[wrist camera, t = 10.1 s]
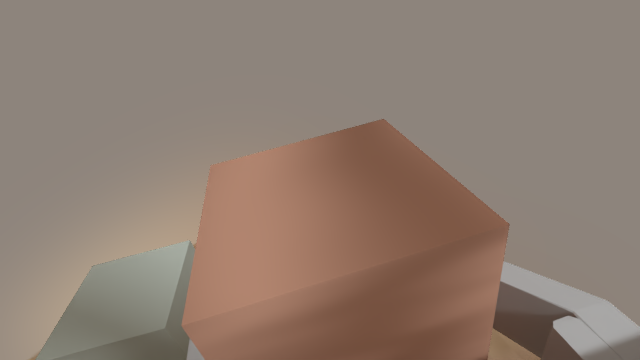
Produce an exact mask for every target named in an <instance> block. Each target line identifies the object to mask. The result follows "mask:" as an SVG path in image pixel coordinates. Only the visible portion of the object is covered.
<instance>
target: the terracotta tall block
mask: <svg viewBox="0 0 640 360" xmlns="http://www.w3.org/2000/svg"><path fill="white" fill-rule="evenodd" d="M508 230H509V223H507V222H506V221H505V220H504V219H503V218H501V217H500V216H499V215H498V214H496V213H495V212H494V211H493V210H492V209H490V208H489V207H488V206H487V205H486V204H485V203H483V202H482V201H481V200H480V199H479V198H477V197H476V196H475V195H474V194H473V193H471V192H470V191H469V190H468V189H467V188H466V187H464V186H463V185H462V184H461V183H459V182H458V181H457V180H456V179H455V178H453V177H452V176H451V175H450V174H449V173H448V172H446V171H445V170H444V169H443V168H442V167H440V166H439V165H438V164H437V163H436V162H434V161H433V160H432V159H431V158H430V157H429V156H427V155H426V154H425V153H424V152H423V151H421V150H420V149H419V148H418V147H417V146H415V145H414V144H413V143H412V142H411V141H409V140H408V139H407V138H406V137H405V136H403V135H402V134H401V133H400V132H399V131H397V130H396V129H395V128H394V127H393V126H391V125H390V124H389V123H388V122H387V121H386V120H384V119H382V120H378V121H374V122H370V123H367V124H363V125H359V126H356V127H352V128H348V129H344V130H341V131H337V132H333V133H329V134H326V135H322V136H318V137H314V138H311V139H307V140H303V141H300V142H296V143H292V144H289V145H285V146H281V147H277V148H273V149H270V150H266V151H262V152H258V153H255V154H251V155H247V156H244V157H240V158H236V159H233V160H229V161H225V162H221V163H218V164H214V165H211V167H210V173H209V178H208V183H207V188H206V195H205V199H204V205H203V211H202V216H201V221H200V227H199V232H198V237H197V243H196V248H195V254H194V259H193V265H192V270H191V276H190V281H189V287H188V292H187V298H186V303H185V308H184V314H183V319H182V325H181V326H182V328H183V329H184V331H185V332H186V333H187V335H188V336H189V338H190V339H191V340H192V342H193V343H194V345H195V346H196V348H197V349H198V350H199V352H200V353H201V355H202V356H203V358H204V359H205V360H487V358H488V352H489V346H490V340H491V334H492V328H493V322H494V316H495V310H496V304H497V297H498V291H499V285H500V279H501V273H502V267H503V261H504V255H505V248H506V242H507V236H508Z"/></svg>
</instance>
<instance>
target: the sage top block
mask: <svg viewBox="0 0 640 360" xmlns="http://www.w3.org/2000/svg"><path fill="white" fill-rule="evenodd" d="M194 254H195V248H194V247H193V245H192V243H191V241H185V242H182V243H178V244H174V245H171V246H166V247H163V248H159V249H155V250H151V251H147V252H144V253H140V254H136V255H132V256H129V257H125V258H121V259H117V260H113V261H110V262H106V263H102V264H98V265H94V266H92V268H91V270H90V271H89V273H88V275H87V276H86V278H85V279H84V281H83V283H82V284H81V286H80V288H79V289H78V291H77V293H76V294H75V296H74V297H73V299H72V301H71V303H70V304H69V306H68V307H67V309H66V311H65V312H64V314H63V315H62V317H61V319H60V320H59V322H58V324H57V325H56V327H55V328H54V330H53V332H52V333H51V335H50V337H49V338H48V340H47V342H46V343H45V345H44V347H43V348H42V350H41V351H40V353H39V355H38V356H37V358H36V360H186V358H187V352H188V345H189V339H190V338H189V336H188V335H187V333H186V332H185V331H184V329H183V328H182V326H181V325H182V319H183V314H184V308H185V303H186V298H187V292H188V287H189V281H190V276H191V270H192V265H193V259H194Z"/></svg>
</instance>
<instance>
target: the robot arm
mask: <svg viewBox="0 0 640 360" xmlns="http://www.w3.org/2000/svg"><path fill="white" fill-rule="evenodd" d="M493 328H494V329H495V330H497V331H499V332H500V333H502V334H503V335H505V336H507V337H508V338H510V339H511V340H513V341H514V342H516V343H518V344H519V345H521V346H522V347H524V348H526V349H527V350H529V351H530V352H532V353H534V354H535V355H537V356H538V357H540V358H541V360H640V327H639V326H638V325H636V324H635V323H634V322H633V321H632V320H630V319H629V318H628V317H627V316H625V315H624V314H623V313H622V312H621V311H619V310H618V309H617V308H616V307H615V306H613V305H612V304H611V303H610V302H609V301H607V300H604V299H601V298H599V297H596V296H594V295H591V294H588V293H586V292H583V291H581V290H578V289H575V288H573V287H570V286H567V285H565V284H562V283H560V282H557V281H554V280H552V279H549V278H546V277H544V276H541V275H539V274H536V273H533V272H530V271H528V270H526V269H523V268H520V267H518V266H515V265H512V264H510V263H507V262H503V267H502V273H501V279H500V285H499V291H498V297H497V304H496V310H495V316H494V322H493ZM186 360H205V359H204V358H203V356H202V355H201V353H200V352H199V350H198V349H197V348H196V346H195V345H194V343H193V342H192V340H191V339H189V345H188V352H187V358H186Z"/></svg>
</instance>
